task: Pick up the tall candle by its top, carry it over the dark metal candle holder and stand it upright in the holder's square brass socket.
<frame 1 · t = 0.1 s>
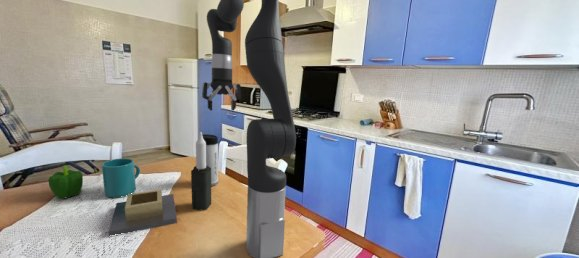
hand: (222, 110, 94), 29 cm above the table, tool pointing down, fingers open, 8 cm apart
bell pepper: (69, 195, 82), on the table
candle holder: (145, 214, 73), on the table
cup: (125, 191, 87), on the table
travel mug: (209, 183, 97), on the table
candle: (201, 206, 80), on the table
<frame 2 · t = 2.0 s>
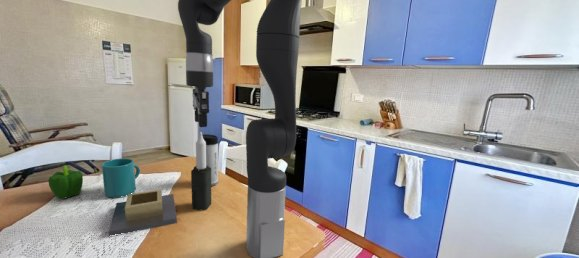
hand: (200, 124, 74), 27 cm above the table, tool pointing down, fingers open, 8 cm apart
nothing on the table moved.
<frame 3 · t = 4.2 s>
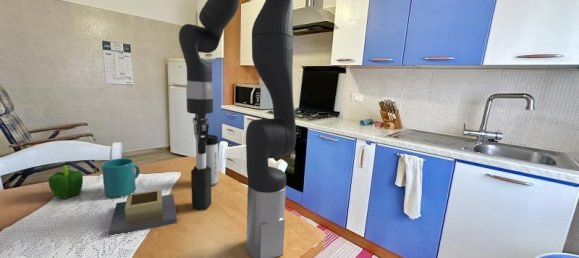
hand: (200, 151, 76), 19 cm above the table, tool pointing down, fingers closed on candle, 3 cm apart
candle: (201, 206, 80), on the table, touching gripper
everything else where it was.
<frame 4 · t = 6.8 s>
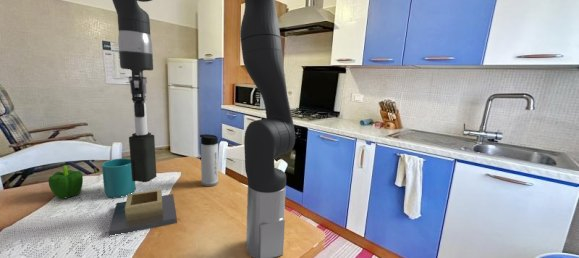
hand: (140, 115, 67), 30 cm above the table, tool pointing down, fingers closed on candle, 3 cm apart
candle: (144, 178, 71), point 11 cm above the table, touching gripper
everything else where it was.
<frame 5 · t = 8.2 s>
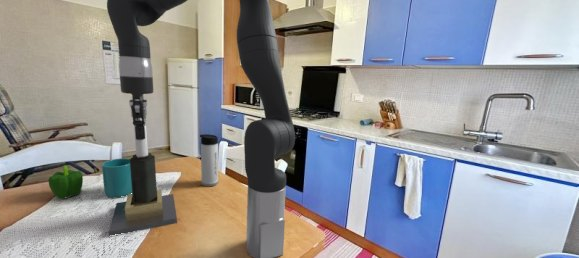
hand: (140, 137, 68), 24 cm above the table, tool pointing down, fingers closed on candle, 3 cm apart
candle: (145, 198, 72), point 5 cm above the table, touching gripper
everything else where it was.
when the fingers open (22 cm above the table, at t = 9.5 s): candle drops 1 cm, resting on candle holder.
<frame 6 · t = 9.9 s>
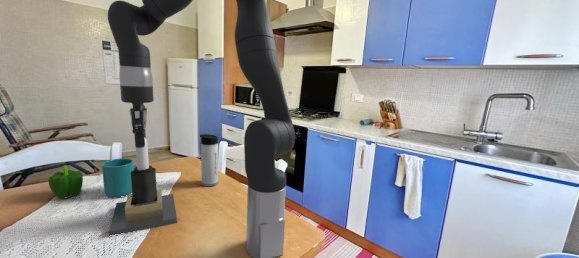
hand: (140, 143, 69), 22 cm above the table, tool pointing down, fingers open, 6 cm apart
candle: (146, 210, 73), point 1 cm above the table, touching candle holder
everything else where it was.
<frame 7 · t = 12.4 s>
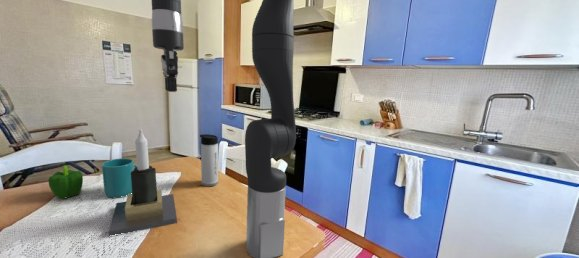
hand: (171, 91, 69), 37 cm above the table, tool pointing down, fingers open, 8 cm apart
nothing on the table moved.
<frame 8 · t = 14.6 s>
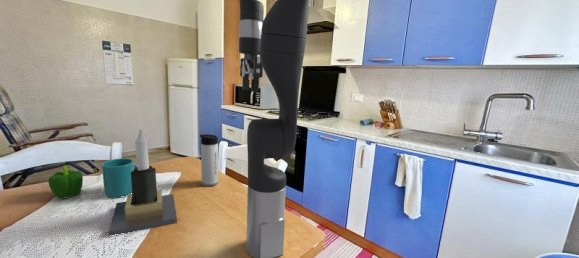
hand: (250, 91, 78), 38 cm above the table, tool pointing down, fingers open, 8 cm apart
nothing on the table moved.
at the end: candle 0.3 cm off-centre on the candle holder, point 1.3 cm above the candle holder's base; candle tilted 0°; the gripper is holding nothing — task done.
